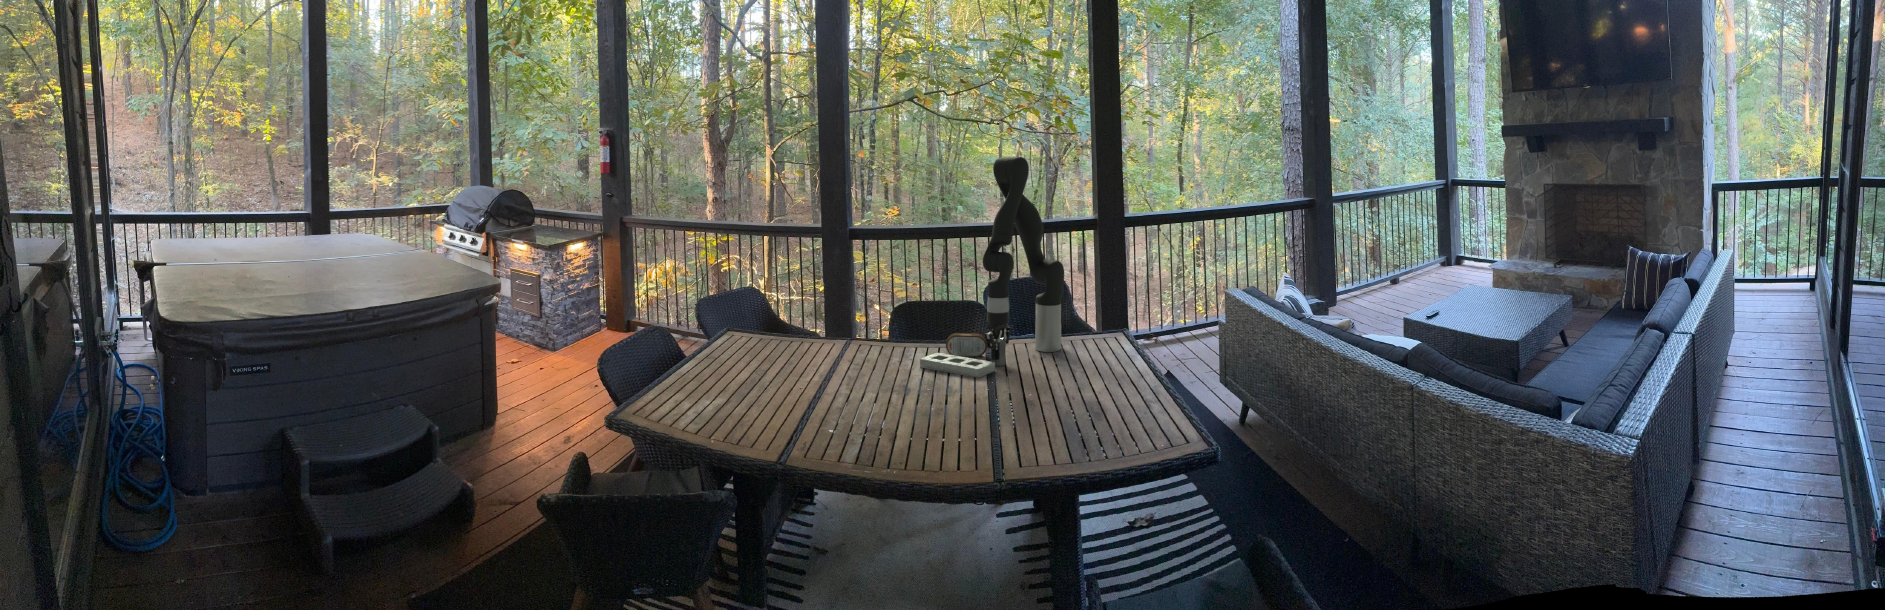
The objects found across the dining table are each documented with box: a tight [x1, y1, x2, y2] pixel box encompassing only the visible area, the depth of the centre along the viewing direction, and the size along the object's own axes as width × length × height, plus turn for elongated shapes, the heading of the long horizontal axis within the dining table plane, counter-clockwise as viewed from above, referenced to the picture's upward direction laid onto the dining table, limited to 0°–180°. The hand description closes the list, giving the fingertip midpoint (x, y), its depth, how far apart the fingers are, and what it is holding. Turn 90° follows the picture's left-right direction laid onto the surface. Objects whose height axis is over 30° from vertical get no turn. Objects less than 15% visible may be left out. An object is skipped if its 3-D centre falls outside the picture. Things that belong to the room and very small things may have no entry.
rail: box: [919, 352, 996, 379], centre depth 308 cm, size 10×24×3 cm, turn 54°
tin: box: [945, 332, 988, 358], centre depth 324 cm, size 15×3×8 cm, turn 84°
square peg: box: [990, 339, 1006, 368], centre depth 312 cm, size 4×4×9 cm
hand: (998, 358), depth 312 cm, fingers closed on square peg, 3 cm apart
